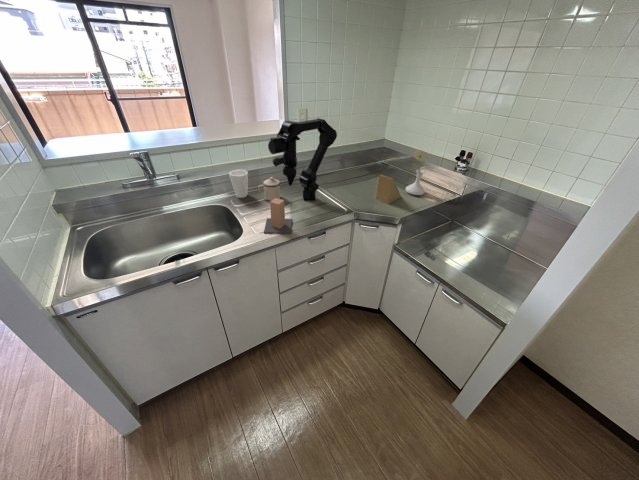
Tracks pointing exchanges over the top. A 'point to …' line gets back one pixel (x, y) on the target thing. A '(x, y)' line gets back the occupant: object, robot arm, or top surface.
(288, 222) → the black mat
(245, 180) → the foam cup
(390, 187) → the sandwich container
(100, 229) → the top surface
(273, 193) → the teacup with lid
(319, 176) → the top surface
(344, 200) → the top surface
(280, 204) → the terracotta block
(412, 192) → the flower in vase
